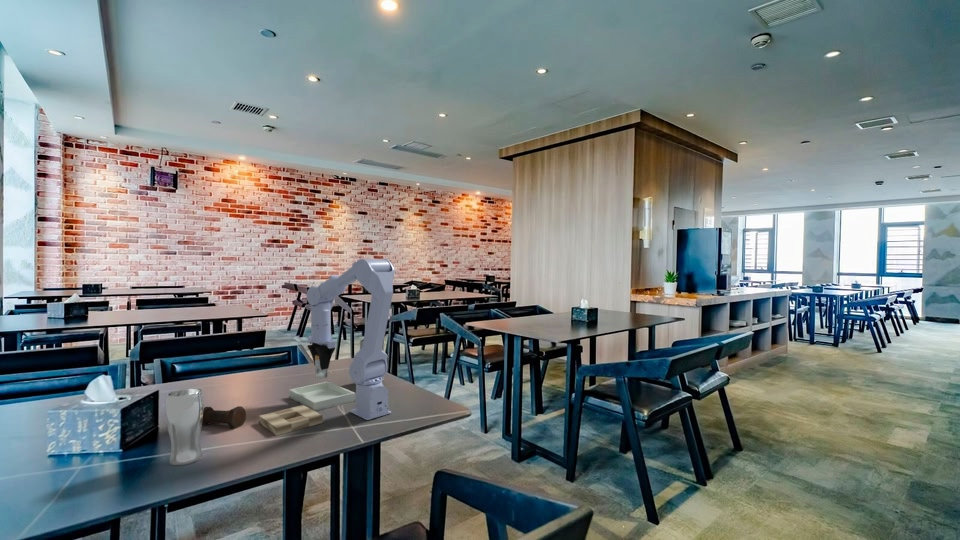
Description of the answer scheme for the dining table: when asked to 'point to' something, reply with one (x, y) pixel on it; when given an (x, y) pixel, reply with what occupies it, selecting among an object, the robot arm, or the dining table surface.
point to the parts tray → (321, 395)
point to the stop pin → (319, 369)
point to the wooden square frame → (290, 419)
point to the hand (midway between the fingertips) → (321, 367)
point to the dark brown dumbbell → (225, 416)
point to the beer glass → (185, 424)
